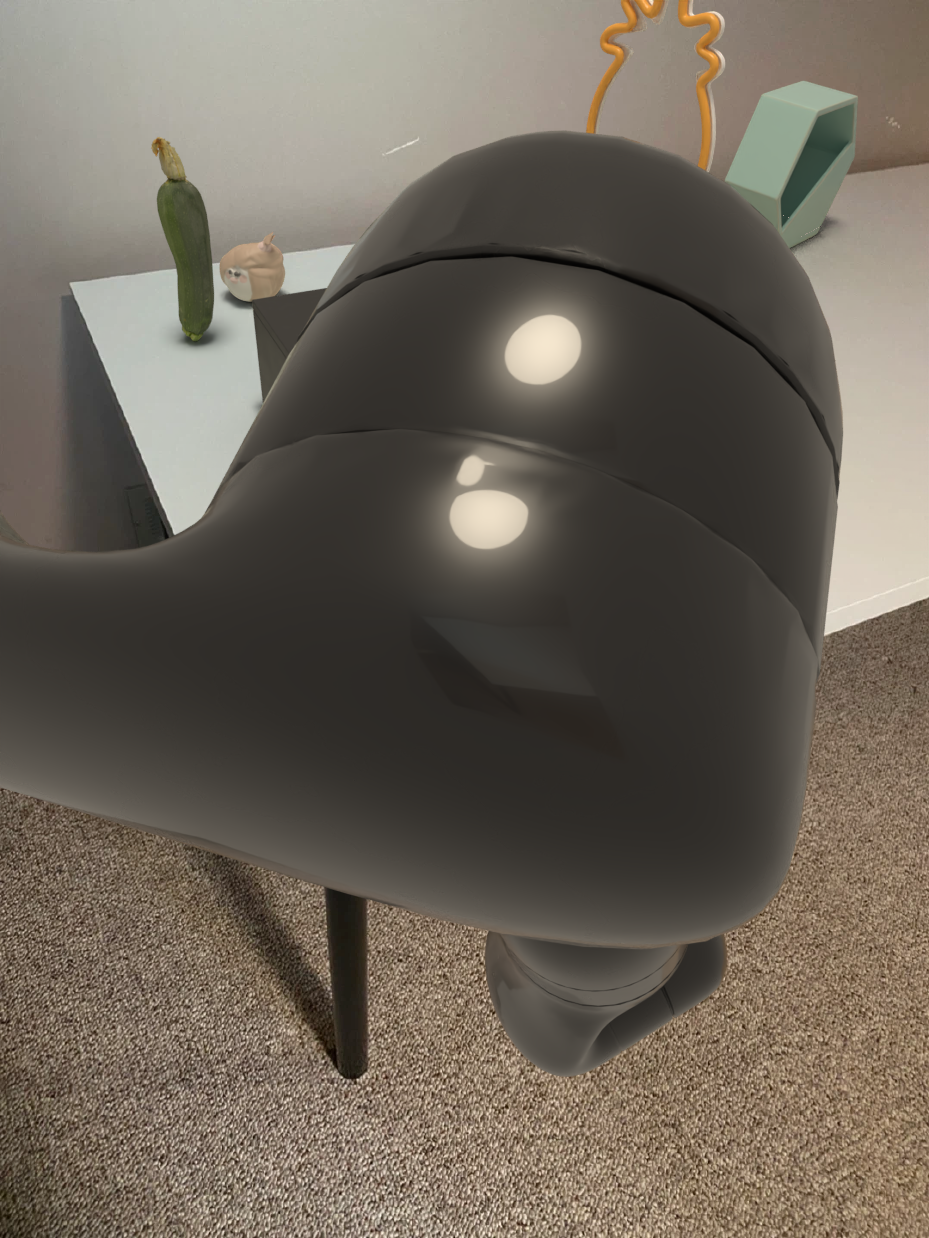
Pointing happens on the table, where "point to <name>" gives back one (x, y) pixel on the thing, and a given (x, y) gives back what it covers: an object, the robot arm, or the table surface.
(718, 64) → the lamp
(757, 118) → the green magazine holder
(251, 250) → the round shiba plush toy
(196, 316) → the vegetable
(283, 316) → the cabinet
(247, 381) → the table surface
